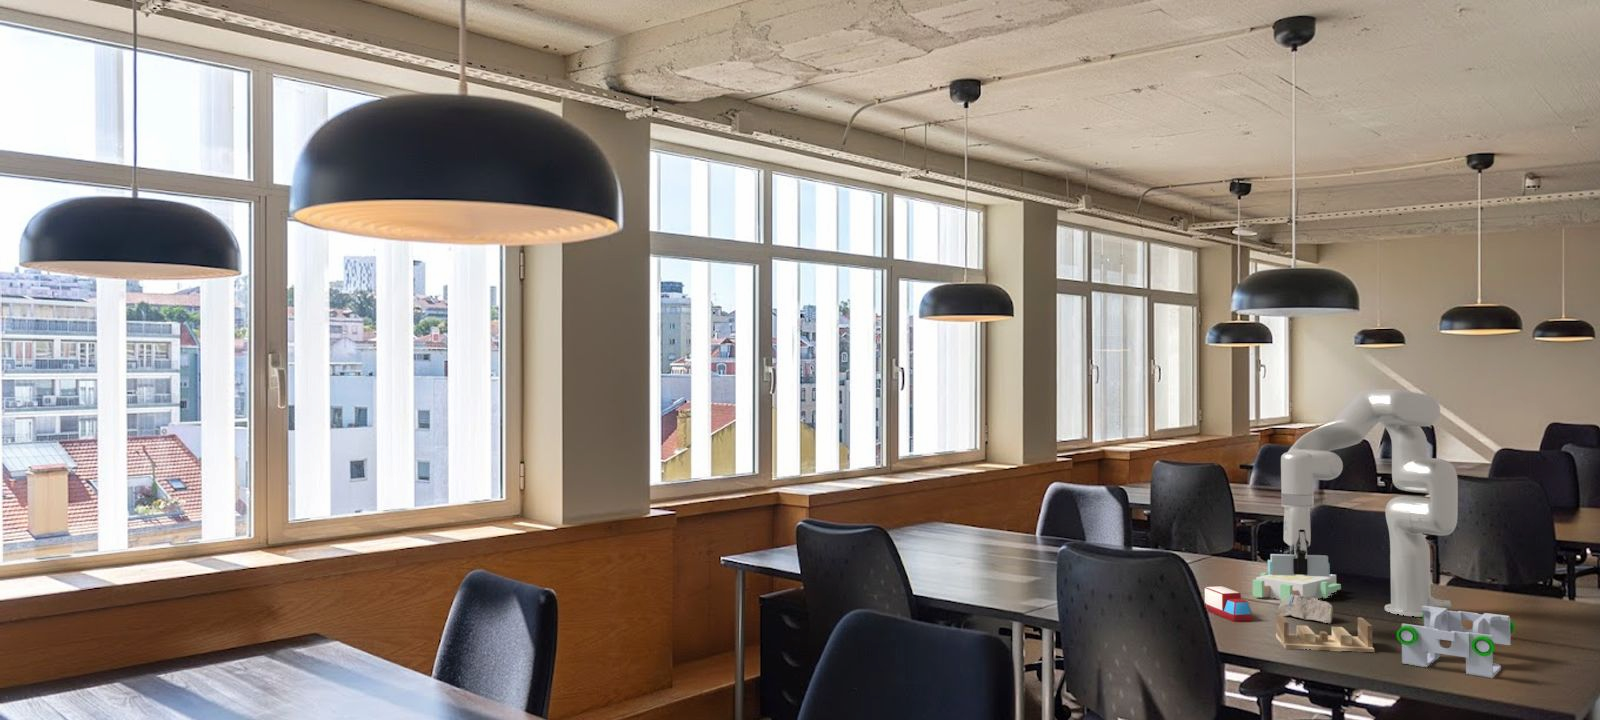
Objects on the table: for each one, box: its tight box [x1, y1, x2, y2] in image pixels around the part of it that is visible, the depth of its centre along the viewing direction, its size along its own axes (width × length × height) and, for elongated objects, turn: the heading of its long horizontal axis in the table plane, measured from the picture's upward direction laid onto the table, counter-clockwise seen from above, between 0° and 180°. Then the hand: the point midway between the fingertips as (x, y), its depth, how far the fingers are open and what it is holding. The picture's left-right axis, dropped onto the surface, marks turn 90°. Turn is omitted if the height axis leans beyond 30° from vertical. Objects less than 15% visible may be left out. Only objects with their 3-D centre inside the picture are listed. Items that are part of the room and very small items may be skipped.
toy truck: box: [1204, 585, 1253, 623], centre depth 299 cm, size 6×15×7 cm, turn 9°
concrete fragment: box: [1278, 595, 1334, 624], centre depth 294 cm, size 7×14×6 cm, turn 34°
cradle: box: [1275, 613, 1375, 653], centre depth 266 cm, size 19×12×6 cm, turn 77°
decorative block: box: [1252, 572, 1342, 602], centre depth 324 cm, size 26×6×20 cm
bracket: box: [1396, 606, 1516, 679], centre depth 250 cm, size 19×25×10 cm
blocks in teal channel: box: [1267, 553, 1331, 577], centre depth 280 cm, size 14×4×5 cm, turn 76°
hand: (1298, 572), depth 280 cm, fingers closed on blocks in teal channel, 3 cm apart
